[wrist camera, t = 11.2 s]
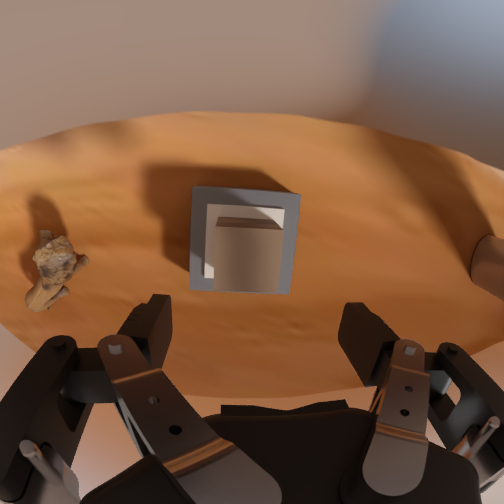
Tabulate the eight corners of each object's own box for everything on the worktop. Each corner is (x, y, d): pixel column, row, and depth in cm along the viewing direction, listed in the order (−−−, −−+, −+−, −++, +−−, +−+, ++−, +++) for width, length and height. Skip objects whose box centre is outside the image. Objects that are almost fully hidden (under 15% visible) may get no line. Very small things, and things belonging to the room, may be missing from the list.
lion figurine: (74, 212, 27) (29, 226, 18) (104, 239, 28) (64, 262, 20) (38, 295, 29) (3, 324, 21) (64, 319, 31) (32, 353, 22)
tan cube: (273, 219, 25) (284, 230, 20) (268, 271, 26) (277, 292, 21) (218, 216, 24) (215, 226, 19) (216, 269, 26) (213, 290, 21)
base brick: (291, 192, 29) (302, 194, 24) (282, 279, 31) (289, 295, 27) (197, 185, 28) (191, 186, 23) (194, 275, 30) (188, 291, 26)
